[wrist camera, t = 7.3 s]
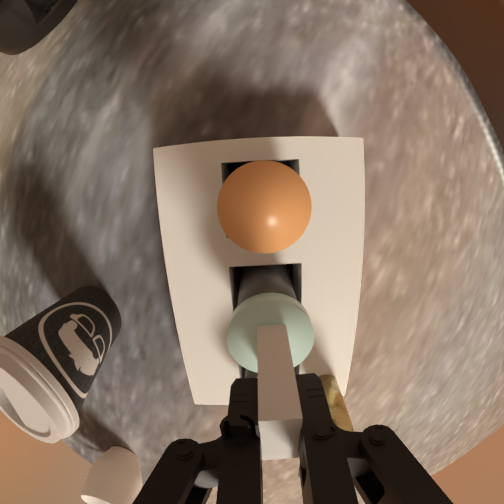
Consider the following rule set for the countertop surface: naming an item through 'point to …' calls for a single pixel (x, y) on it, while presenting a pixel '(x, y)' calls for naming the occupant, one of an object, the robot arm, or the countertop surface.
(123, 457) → the mug
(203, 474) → the robot arm
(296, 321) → the knob
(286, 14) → the countertop surface
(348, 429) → the cylinder
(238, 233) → the knob
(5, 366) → the coffee cup
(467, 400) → the countertop surface
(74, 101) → the countertop surface
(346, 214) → the panel
